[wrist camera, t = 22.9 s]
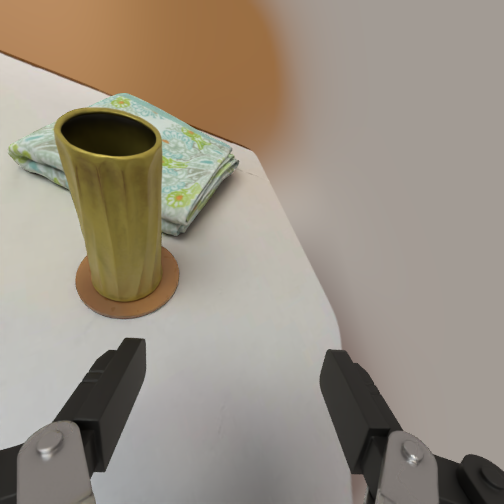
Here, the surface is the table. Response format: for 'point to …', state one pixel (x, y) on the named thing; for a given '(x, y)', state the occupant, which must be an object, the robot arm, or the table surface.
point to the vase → (115, 196)
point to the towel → (173, 160)
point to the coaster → (131, 307)
